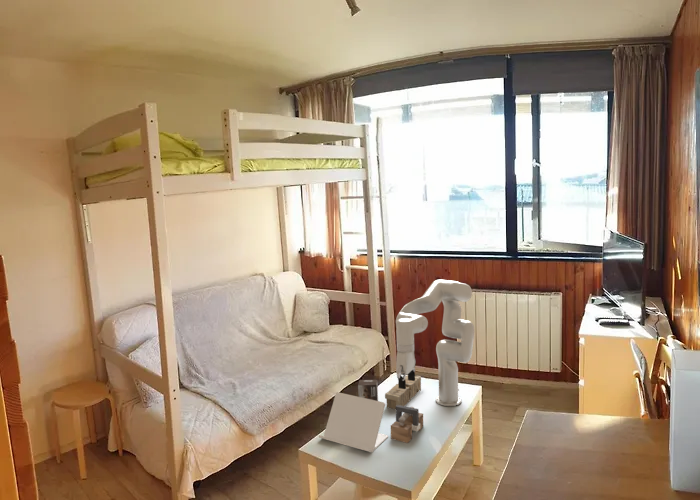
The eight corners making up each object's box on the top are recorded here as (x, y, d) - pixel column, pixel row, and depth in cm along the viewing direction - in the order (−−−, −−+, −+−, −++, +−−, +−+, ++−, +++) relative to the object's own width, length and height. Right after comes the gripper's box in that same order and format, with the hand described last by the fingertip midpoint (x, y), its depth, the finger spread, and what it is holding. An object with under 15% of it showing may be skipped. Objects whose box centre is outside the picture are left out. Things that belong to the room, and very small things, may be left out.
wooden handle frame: (407, 422, 241) (406, 403, 240) (423, 426, 237) (423, 406, 236) (390, 438, 227) (390, 418, 226) (407, 443, 223) (407, 421, 221)
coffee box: (378, 411, 254) (377, 379, 252) (378, 417, 248) (377, 384, 246) (360, 411, 255) (359, 379, 253) (359, 417, 249) (357, 384, 247)
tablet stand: (340, 424, 242) (339, 389, 240) (388, 437, 229) (387, 400, 227) (318, 442, 227) (316, 404, 224) (368, 456, 214) (367, 417, 211)
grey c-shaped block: (397, 422, 236) (397, 403, 235) (420, 427, 231) (420, 408, 229) (394, 426, 233) (394, 407, 232) (417, 431, 227) (416, 411, 226)
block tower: (407, 389, 282) (384, 409, 257) (407, 374, 281) (384, 392, 256) (421, 391, 278) (399, 412, 253) (421, 376, 277) (399, 395, 252)
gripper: (406, 339, 236) (407, 375, 239) (389, 352, 221) (390, 390, 224) (421, 341, 232) (422, 378, 235) (405, 354, 217) (406, 393, 220)
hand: (406, 384), depth 229 cm, fingers open, 9 cm apart
